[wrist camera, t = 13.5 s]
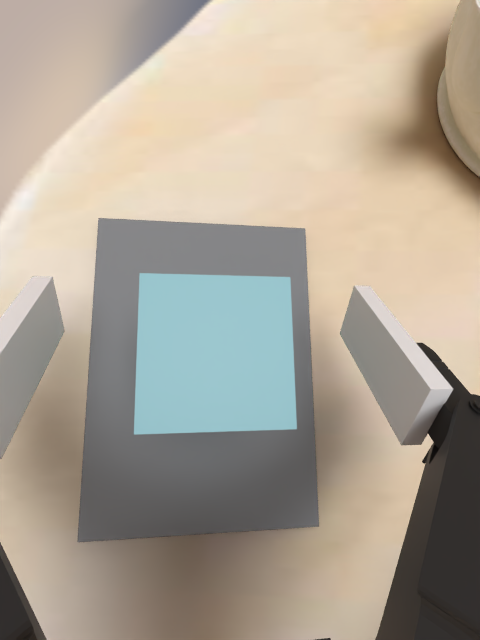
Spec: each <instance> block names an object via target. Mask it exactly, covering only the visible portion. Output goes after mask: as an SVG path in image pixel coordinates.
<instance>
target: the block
mask: <svg viewBox="0 0 480 640" xmlns="http://www.w3.org/2000/svg"><path fill="white" fill-rule="evenodd" d="M288 429H297V420H296V397H295V373H294V350H293V327H292V304H291V281H290V277H269V276H231V275H192V274H154V273H140V276H139V304H138V332H137V360H136V388H135V416H134V435H136V434H166V433H197V432H227V431H257V430H288Z"/></svg>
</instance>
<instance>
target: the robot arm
mask: <svg viewBox="0 0 480 640" xmlns="http://www.w3.org/2000/svg"><path fill="white" fill-rule="evenodd" d="M63 333H64V326H63V322H62V317H61V313H60V308H59V304H58V299H57V295H56V290H55V286H54V281H53V277H43V276H32V278H31V279H30V280H29V282H28V283H27V284H26V285H25V287H24V288H23V289H22V291H21V292H20V293H19V294H18V296H17V297H16V298H15V300H14V301H13V302H12V303H11V305H10V306H9V307H8V309H7V310H6V311H5V313H4V314H3V315H2V316H1V318H0V459H2V457H3V455H4V453H5V451H6V449H7V447H8V445H9V443H10V441H11V438H12V436H13V434H14V432H15V430H16V428H17V426H18V424H19V422H20V420H21V418H22V416H23V414H24V412H25V410H26V408H27V406H28V404H29V402H30V400H31V398H32V396H33V394H34V392H35V390H36V388H37V386H38V384H39V382H40V380H41V378H42V376H43V374H44V372H45V370H46V367H47V365H48V363H49V361H50V359H51V357H52V355H53V353H54V351H55V349H56V347H57V345H58V343H59V341H60V339H61V337H62V335H63ZM340 335H341V337H342V339H343V340H344V342H345V344H346V346H347V348H348V349H349V351H350V353H351V355H352V357H353V358H354V360H355V362H356V364H357V366H358V368H359V369H360V371H361V373H362V375H363V377H364V378H365V380H366V382H367V384H368V386H369V388H370V389H371V391H372V393H373V395H374V397H375V398H376V400H377V402H378V404H379V406H380V408H381V409H382V411H383V413H384V415H385V417H386V418H387V420H388V422H389V424H390V426H391V427H392V429H393V431H394V433H395V435H396V437H397V438H398V440H399V442H400V444H401V445H421V444H422V442H423V441H424V439H425V437H426V435H427V434H429V436H430V437H431V439H432V440H433V442H434V443H433V444H432V446H431V448H430V449H429V451H428V453H427V454H426V456H425V458H424V459H423V461H422V462H423V463H426V464H425V468H424V471H423V475H422V478H421V482H420V486H419V489H418V493H417V496H416V500H415V503H414V507H413V510H412V514H411V518H410V521H409V525H408V528H407V532H406V535H405V539H404V542H403V546H402V550H401V553H400V557H399V560H398V564H397V567H396V571H395V574H394V578H393V582H392V585H391V589H390V592H389V596H388V599H387V603H386V606H385V610H384V614H383V617H382V621H381V624H380V628H379V631H378V634H377V637H376V639H375V640H480V396H478V395H474V394H470V393H469V392H468V390H467V389H466V388H465V387H464V386H463V385H462V383H461V382H460V381H459V380H458V379H457V378H456V376H455V375H454V374H453V373H452V372H451V371H450V369H448V367H447V366H446V365H445V363H444V362H442V360H441V359H440V358H439V356H438V355H437V354H436V353H435V352H434V351H433V350H432V349H430V348H429V347H427V346H426V345H425V344H423V343H416V342H415V341H414V340H413V339H412V337H411V336H410V335H409V334H408V332H407V331H406V330H405V329H404V328H403V326H402V325H401V324H400V323H399V321H398V320H397V319H396V318H395V316H394V315H393V314H392V313H391V311H390V310H389V309H388V308H387V307H386V305H385V304H384V303H383V302H382V300H381V299H380V298H379V297H378V295H377V294H376V293H375V292H374V290H373V289H372V288H371V287H370V286H354V288H353V292H352V295H351V298H350V301H349V305H348V308H347V311H346V315H345V318H344V321H343V325H342V328H341V331H340ZM0 640H46V637H45V635H44V633H43V631H42V629H41V627H40V625H39V623H38V621H37V619H36V616H35V614H34V612H33V610H32V608H31V606H30V604H29V602H28V600H27V598H26V595H25V593H24V591H23V589H22V587H21V585H20V583H19V581H18V579H17V577H16V574H15V572H14V570H13V568H12V566H11V564H10V562H9V560H8V558H7V556H6V553H5V551H4V549H3V547H2V545H1V543H0ZM317 640H331V639H330V638H326V639H317Z"/></svg>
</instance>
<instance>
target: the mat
mask: <svg viewBox="0 0 480 640" xmlns="http://www.w3.org/2000/svg"><path fill="white" fill-rule="evenodd" d="M140 273H154V274H192V275H231V276H269V277H290V281H291V304H292V327H293V350H294V373H295V397H296V420H297V429H288V430H257V431H227V432H197V433H166V434H136V435H134V416H135V388H136V360H137V332H138V304H139V276H140ZM304 527H319V515H318V494H317V472H316V451H315V429H314V408H313V386H312V365H311V343H310V321H309V300H308V278H307V257H306V235H305V229H304V228H285V227H265V226H245V225H225V224H206V223H186V222H166V221H146V220H127V219H107V218H99V220H98V236H97V251H96V266H95V282H94V297H93V312H92V328H91V343H90V358H89V374H88V389H87V404H86V420H85V435H84V450H83V466H82V481H81V496H80V512H79V527H78V542H88V541H104V540H119V539H134V538H150V537H165V536H181V535H196V534H211V533H227V532H242V531H258V530H273V529H288V528H304Z"/></svg>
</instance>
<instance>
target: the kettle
mask: <svg viewBox="0 0 480 640" xmlns="http://www.w3.org/2000/svg"><path fill="white" fill-rule="evenodd" d="M437 107H438V114H439V118H440V122H441V125H442V128H443V131H444V133H445V135H446V137H447V139H448V141H449V143H450V145H451V146H452V148H453V150H454V151H455V152H456V154H457V155H458V156H459V158H460V159H461V160H462V161H463V162H464V164H465V165H466V166H467V167H468V168H469V169H470V170H471V171H473V172H474V173H475V174H476V175H477V176H479V177H480V0H461V1H460V3H459V5H458V7H457V10H456V12H455V15H454V18H453V21H452V24H451V28H450V32H449V37H448V42H447V49H446V61H445V67H444V69H443V72H442V74H441V77H440V80H439V84H438V91H437Z"/></svg>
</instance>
